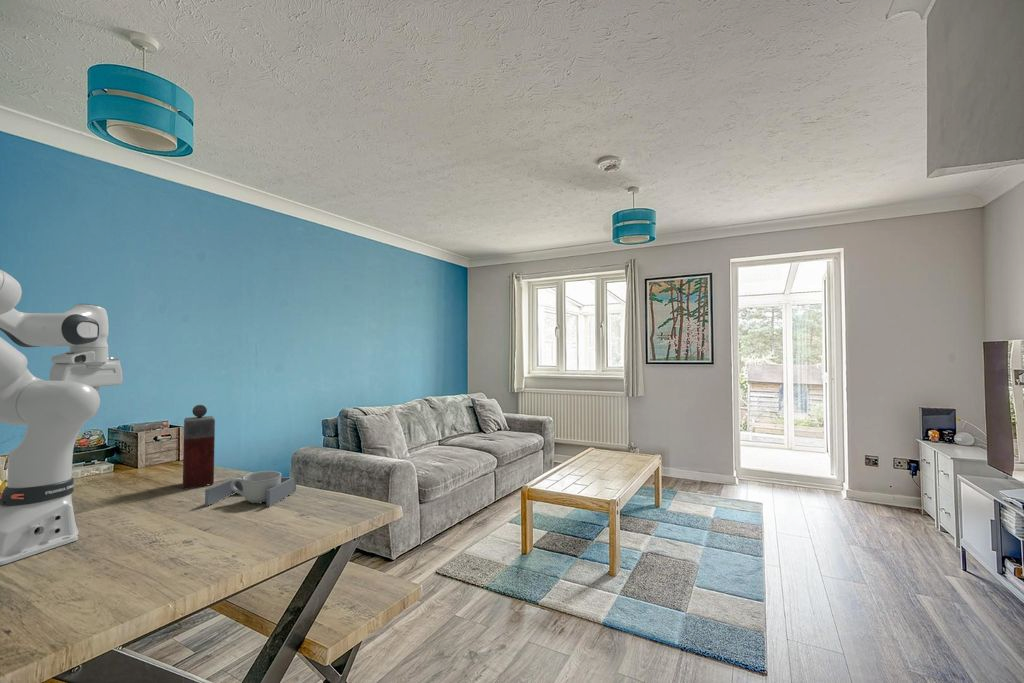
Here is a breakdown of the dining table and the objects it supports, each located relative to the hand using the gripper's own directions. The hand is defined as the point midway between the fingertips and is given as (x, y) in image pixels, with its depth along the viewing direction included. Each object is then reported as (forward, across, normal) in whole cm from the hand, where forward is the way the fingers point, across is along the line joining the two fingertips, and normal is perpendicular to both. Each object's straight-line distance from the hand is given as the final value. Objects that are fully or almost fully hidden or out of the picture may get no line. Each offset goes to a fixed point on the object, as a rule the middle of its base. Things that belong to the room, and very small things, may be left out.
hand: (88, 402), depth 142 cm
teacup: (+32, -5, +51) cm, 60 cm away
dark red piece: (+32, -24, +17) cm, 43 cm away
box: (+31, -7, +48) cm, 58 cm away
